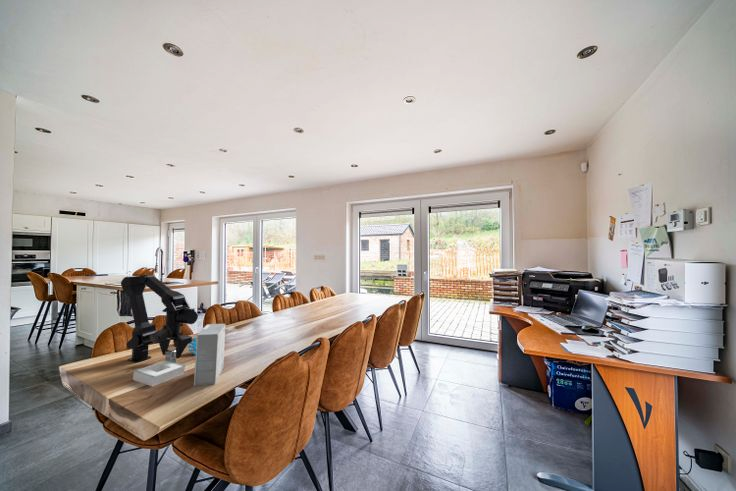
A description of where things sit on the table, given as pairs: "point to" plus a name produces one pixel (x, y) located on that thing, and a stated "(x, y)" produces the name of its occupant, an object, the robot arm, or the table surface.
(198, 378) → the hard drive box
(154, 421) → the table surface
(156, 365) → the jig
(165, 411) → the table surface
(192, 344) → the gear
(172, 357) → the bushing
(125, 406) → the table surface
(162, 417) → the table surface
